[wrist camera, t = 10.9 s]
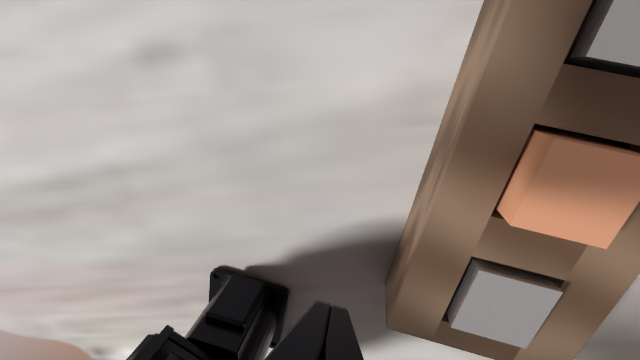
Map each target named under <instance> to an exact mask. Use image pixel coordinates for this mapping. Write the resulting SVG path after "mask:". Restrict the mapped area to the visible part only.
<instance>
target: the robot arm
mask: <svg viewBox="0 0 640 360" xmlns="http://www.w3.org/2000/svg"><path fill="white" fill-rule="evenodd" d="M217 274H218V275H219V276H218V275H217ZM282 293H284V294H282ZM289 294H290V292H289V290H288V289H287V288H285V287H283V286H279V285H276V284H272V283H269V282H265V281H262V280H258V279H255V278H251V277H248V276H244V275H241V274H237V273H234V272H230V271H227V270H223V269H220V268H215V269H214V270H213V271H212V272H211V274H210V290H209V304H208V305H207V307H206V308H205V309H204V311H203V312H202V314H201V315H200V316H199V318H198V319H197V321H196V322H195V324H194V325H193V326H192V328H191V329H190V331H189V332H188V333H187V335H186V336H185V338H184V337H183V336H181V335H180V334H178V333H177V332H175V331H174V329H173V328H172V327H170V326H169V325H167V326H166V327H165V328H164V329H163V330H162V331H161V333H160V334H157V333H156V334H155V335H147V336H146V338H145V339H144V340H143V341H142V342H141V343H140V345H139V346H138V347H137V348H136V349H135V350H134V352H133V353H132V354H131V355H130V356H129V357H128V358H127V359H126V360H364V359H363V356H362V353H361V350H360V347H359V344H358V341H357V338H356V335H355V332H354V329H353V326H352V323H351V320H350V317H349V314H348V311H347V309H346V308H343V307H340V306H336V305H332V306H331V305H330V304H329V303H326V302H322V301H319V300H317V301H315V302H314V303H313V304H312V306H311V307H310V308H309V309H308V310H307V311H306V312H305V314H304V315H303V316H302V317H301V318H300V319H299V320H298V322H297V323H296V324H295V325H294V326H293V327H292V328H291V330H290V331H289V332H288V333H287V334H286V335H285V336H284V337H283V339H282V340H281V336H282V331H283V325H284V320H285V315H286V310H287V305H288V299H289ZM269 347H270V348H274V349H273V350H272V351H271V352H270V353H269V355H268V356H267V357H266V358H265V356H266V353H267V351H268V348H269Z"/></svg>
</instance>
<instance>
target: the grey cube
mask: <svg viewBox="0 0 640 360" xmlns="http://www.w3.org/2000/svg"><path fill="white" fill-rule="evenodd" d="M562 294H563V292H562V290H561V289H560V288H559V287H558V286H557V284H556V283H555V282H554V281H553V279H552V278H551V277H550V276H546V275H542V274H538V273H534V272H531V271H527V270H523V269H519V268H515V267H511V266H507V265H504V264H500V263H496V262H492V261H488V260H484V259H480V258H476V257H473V256H471V258H470V260H469V263H468V265H467V267H466V269H465V271H464V273H463V275H462V277H461V279H460V282H459V284H458V286H457V288H456V290H455V292H454V294H453V296H452V298H451V301H450V303H449V305H448V307H447V309H446V313H447V316H448V320H449V323H450V327H451V328H454V329H458V330H461V331H465V332H468V333H472V334H475V335H479V336H482V337H486V338H489V339H493V340H496V341H500V342H503V343H507V344H510V345H514V346H517V347H521V348H524V349H526V348H527V346H528V345H529V343H530V342H531V340H532V339H533V337H534V336H535V334H536V333H537V331H538V330H539V328H540V327H541V325H542V324H543V322H544V321H545V319H546V318H547V316H548V315H549V313H550V312H551V310H552V309H553V307H554V306H555V304H556V303H557V301H558V300H559V298H560V297H561V295H562Z"/></svg>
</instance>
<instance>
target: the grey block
mask: <svg viewBox="0 0 640 360" xmlns="http://www.w3.org/2000/svg"><path fill="white" fill-rule="evenodd" d="M563 64H568V65H573V66H578V67H584V68H589V69H594V70H599V71H605V72H610V73H615V74H620V75H626V76H640V0H593V1H592V3H591V5H590V7H589V9H588V12H587V14H586V16H585V18H584V20H583V22H582V24H581V26H580V28H579V31H578V33H577V35H576V37H575V39H574V41H573V43H572V45H571V47H570V50H569V52H568V54H567V56H566V58H565V60H564V62H563Z"/></svg>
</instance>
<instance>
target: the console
mask: <svg viewBox="0 0 640 360" xmlns="http://www.w3.org/2000/svg"><path fill="white" fill-rule="evenodd" d="M592 1H593V0H484V2H483V5H482V8H481V11H480V14H479V17H478V19H477V22H476V25H475V28H474V31H473V34H472V37H471V39H470V42H469V45H468V48H467V51H466V54H465V57H464V59H463V62H462V65H461V68H460V71H459V74H458V77H457V79H456V82H455V85H454V88H453V91H452V94H451V97H450V100H449V102H448V105H447V108H446V111H445V114H444V117H443V120H442V122H441V125H440V128H439V131H438V134H437V137H436V140H435V142H434V145H433V148H432V151H431V154H430V157H429V160H428V162H427V165H426V168H425V171H424V174H423V177H422V180H421V182H420V185H419V188H418V191H417V194H416V197H415V200H414V202H413V205H412V208H411V211H410V214H409V217H408V220H407V222H406V225H405V228H404V231H403V234H402V237H401V240H400V243H399V245H398V248H397V251H396V254H395V257H394V260H393V263H392V265H391V268H390V271H389V274H388V277H387V280H386V283H385V294H386V325H387V328H388V329H391V330H395V331H398V332H402V333H405V334H409V335H412V336H416V337H419V338H422V339H426V340H429V341H433V342H436V343H440V344H443V345H447V346H450V347H453V348H457V349H460V350H464V351H467V352H471V353H474V354H477V355H481V356H484V357H488V358H491V359H495V360H573V359H574V358H575V357H576V355H577V354H578V353H579V351H580V350H581V349H582V348H583V346H584V345H585V344H586V342H587V341H588V340H589V338H590V337H591V336H592V335H593V333H594V332H595V331H596V329H597V328H598V327H599V325H600V324H601V323H602V322H603V320H604V319H605V318H606V316H607V315H608V314H609V312H610V311H611V310H612V308H613V307H614V306H615V305H616V303H617V302H618V301H619V299H620V298H621V297H622V295H623V294H624V293H625V292H626V290H627V289H628V288H629V286H630V285H631V284H632V282H633V281H634V280H635V279H636V277H637V276H638V275H639V273H640V201H639V203H638V204H637V206H636V207H635V208H634V210H633V211H632V213H631V214H630V216H629V217H628V219H627V220H626V222H625V223H624V225H623V226H622V227H621V229H620V230H619V232H618V233H617V235H616V236H615V238H614V239H613V241H612V242H611V243H610V245H609V246H608V248H607V249H603V248H599V247H595V246H591V245H587V244H583V243H579V242H575V241H571V240H567V239H563V238H559V237H555V236H551V235H547V234H543V233H538V232H534V231H530V230H526V229H522V228H518V227H514V226H510V225H509V224H508V222H507V221H506V220H505V219H504V217H503V216H502V215H501V214H500V213H499V211H497V210H494V208H495V206H496V203H497V201H498V199H499V197H500V195H501V193H502V191H503V189H504V187H505V185H506V182H507V180H508V178H509V176H510V174H511V172H512V170H513V168H514V166H515V163H516V161H517V159H518V157H519V155H520V153H521V151H522V149H523V147H524V144H525V142H526V140H527V138H528V136H529V134H530V132H531V130H532V128H533V125H534V123H535V124H540V125H545V126H550V127H554V128H559V129H564V130H568V131H573V132H578V133H583V134H587V135H592V136H597V137H601V138H606V139H611V140H616V141H618V143H617V145H616V146H619V147H622V148H625V149H628V150H631V151H634V152H637V153H640V78H636V77H631V76H626V75H620V74H615V73H610V72H605V71H599V70H594V69H589V68H584V67H578V66H573V65H568V64H563V62H564V60H565V58H566V56H567V54H568V52H569V50H570V47H571V45H572V43H573V41H574V39H575V37H576V35H577V33H578V31H579V28H580V26H581V24H582V22H583V20H584V18H585V16H586V14H587V12H588V9H589V7H590V5H591V3H592ZM471 256H473V257H476V258H480V259H484V260H488V261H492V262H496V263H500V264H504V265H507V266H511V267H515V268H519V269H523V270H527V271H531V272H534V273H538V274H542V275H546V276H550V277H551V278H552V279H553V281H554V282H555V283H556V284H557V286H558V287H559V288H560V289H561V290H562V292H563V294H562V295H561V297H560V298H559V300H558V301H557V303H556V304H555V306H554V307H553V309H552V310H551V312H550V313H549V315H548V316H547V318H546V319H545V321H544V322H543V324H542V325H541V327H540V328H539V330H538V331H537V333H536V334H535V336H534V337H533V339H532V340H531V342H530V343H529V345H528V346H527V348H526V349H524V348H521V347H517V346H514V345H510V344H507V343H503V342H500V341H496V340H493V339H489V338H486V337H482V336H479V335H475V334H472V333H468V332H465V331H461V330H458V329H454V328H451V327H450V323H449V320H448V316H447V313H446V309H447V307H448V305H449V303H450V301H451V298H452V296H453V294H454V292H455V290H456V288H457V286H458V284H459V282H460V279H461V277H462V275H463V273H464V271H465V269H466V267H467V265H468V263H469V260H470V258H471Z"/></svg>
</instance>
